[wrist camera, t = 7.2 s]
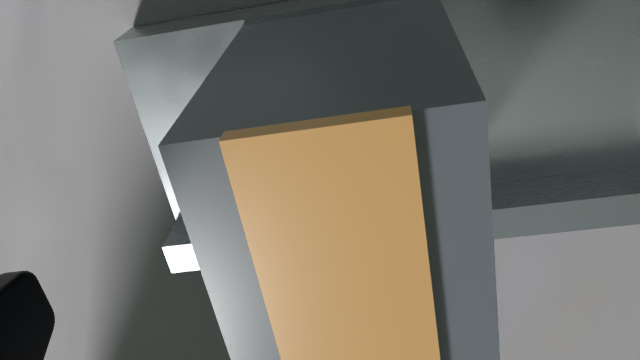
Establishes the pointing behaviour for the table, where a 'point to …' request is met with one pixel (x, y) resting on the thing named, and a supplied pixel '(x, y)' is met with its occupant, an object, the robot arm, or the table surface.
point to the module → (342, 189)
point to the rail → (497, 86)
